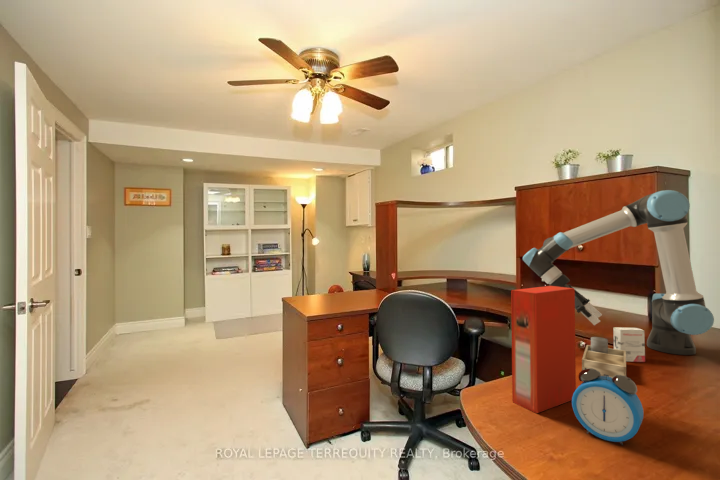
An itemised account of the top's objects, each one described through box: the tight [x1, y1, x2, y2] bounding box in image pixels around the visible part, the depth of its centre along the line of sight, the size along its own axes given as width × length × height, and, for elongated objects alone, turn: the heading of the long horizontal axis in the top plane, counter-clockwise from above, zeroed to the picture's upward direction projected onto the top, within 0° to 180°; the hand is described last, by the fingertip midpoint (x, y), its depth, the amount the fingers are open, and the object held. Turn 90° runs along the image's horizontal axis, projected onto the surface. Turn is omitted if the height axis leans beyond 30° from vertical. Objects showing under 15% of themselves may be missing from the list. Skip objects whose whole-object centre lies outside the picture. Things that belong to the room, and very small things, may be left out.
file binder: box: [510, 285, 577, 414], centre depth 100 cm, size 8×17×32 cm, turn 118°
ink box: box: [612, 326, 646, 363], centre depth 133 cm, size 9×5×12 cm, turn 84°
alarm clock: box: [571, 368, 644, 447], centre depth 82 cm, size 13×6×15 cm, turn 44°
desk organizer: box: [581, 336, 627, 378], centre depth 124 cm, size 12×20×9 cm, turn 143°
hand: (598, 319), depth 139 cm, fingers open, 13 cm apart
